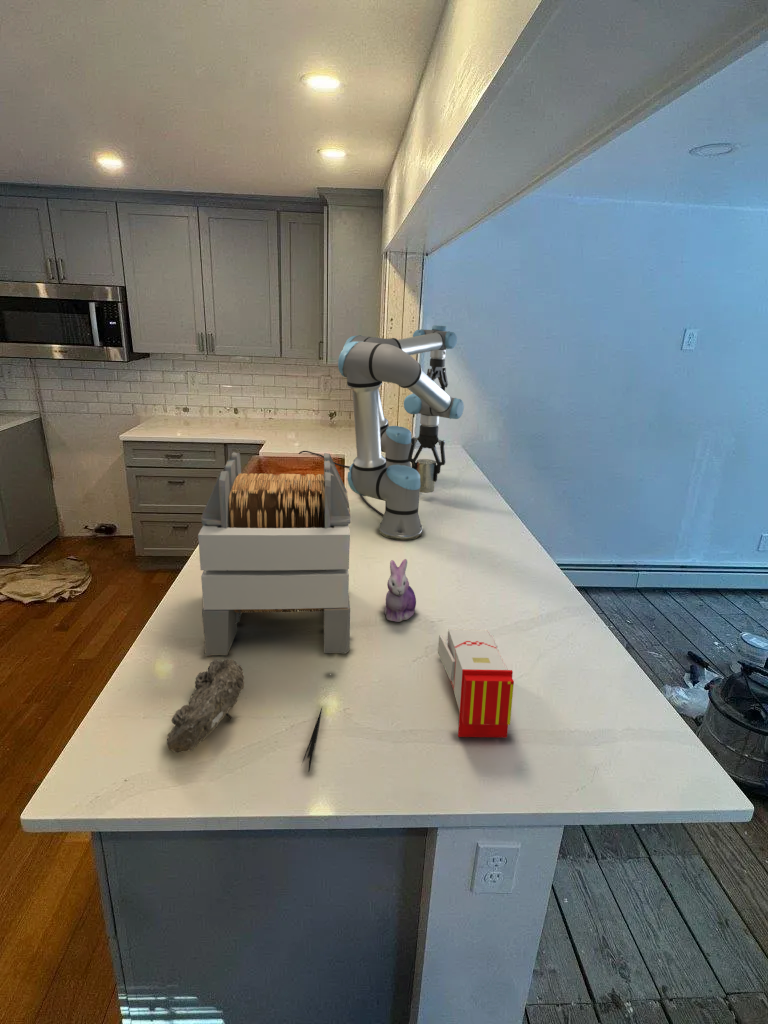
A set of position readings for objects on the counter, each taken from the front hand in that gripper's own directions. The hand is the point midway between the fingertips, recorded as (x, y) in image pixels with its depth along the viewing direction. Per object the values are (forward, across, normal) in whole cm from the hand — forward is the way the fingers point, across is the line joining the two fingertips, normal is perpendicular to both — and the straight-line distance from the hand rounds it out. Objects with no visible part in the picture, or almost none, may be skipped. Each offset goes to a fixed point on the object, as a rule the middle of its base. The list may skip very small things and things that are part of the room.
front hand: (425, 479), depth 235 cm
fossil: (+10, +14, +145) cm, 146 cm away
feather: (+10, -6, +140) cm, 140 cm away
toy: (+10, -33, +123) cm, 127 cm away
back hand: (-23, +8, -64) cm, 68 cm away
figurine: (+10, -12, +96) cm, 97 cm away
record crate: (+10, +16, +108) cm, 109 cm away
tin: (+5, 0, 0) cm, 5 cm away
